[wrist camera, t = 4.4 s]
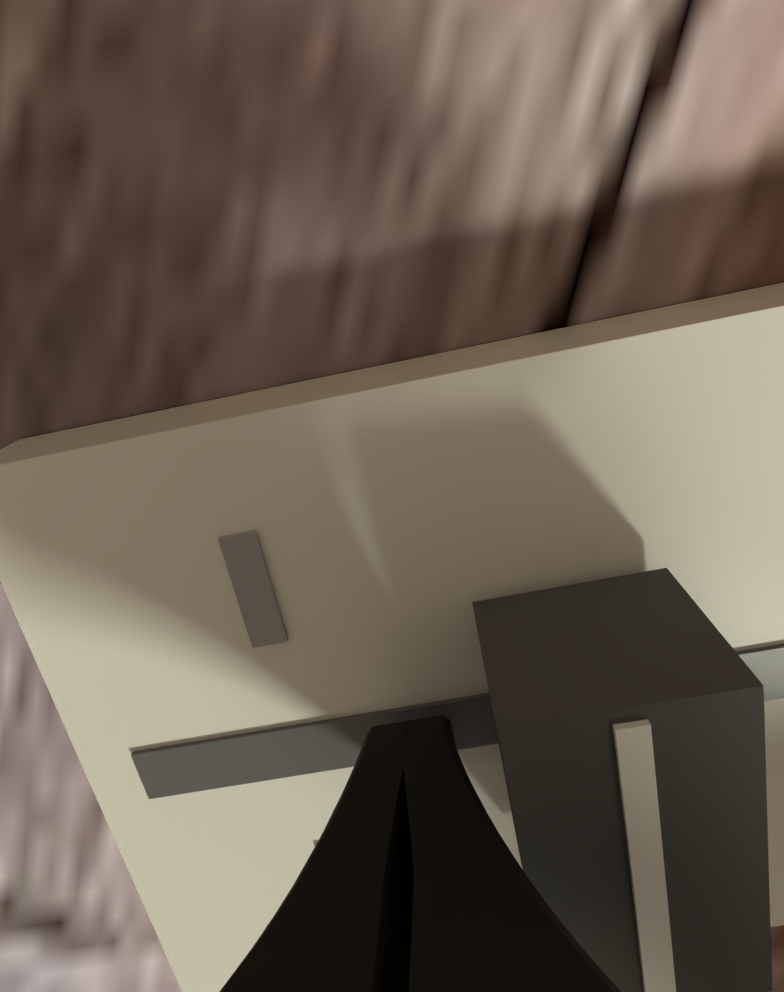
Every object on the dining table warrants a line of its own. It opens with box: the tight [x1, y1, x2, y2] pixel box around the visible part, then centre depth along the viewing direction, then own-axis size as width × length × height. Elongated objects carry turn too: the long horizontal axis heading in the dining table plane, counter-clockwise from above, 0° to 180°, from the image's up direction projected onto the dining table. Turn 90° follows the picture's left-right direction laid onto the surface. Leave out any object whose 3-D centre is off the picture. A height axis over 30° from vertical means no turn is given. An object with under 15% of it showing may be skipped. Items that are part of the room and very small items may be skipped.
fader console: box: [0, 283, 784, 992], centre depth 13 cm, size 20×12×2 cm, turn 102°
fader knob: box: [472, 568, 772, 992], centre depth 10 cm, size 3×5×3 cm, turn 12°
